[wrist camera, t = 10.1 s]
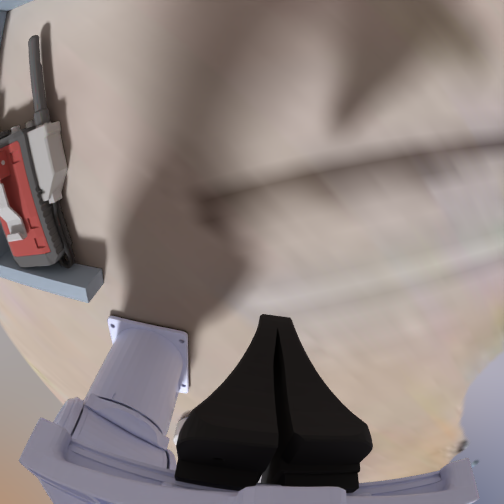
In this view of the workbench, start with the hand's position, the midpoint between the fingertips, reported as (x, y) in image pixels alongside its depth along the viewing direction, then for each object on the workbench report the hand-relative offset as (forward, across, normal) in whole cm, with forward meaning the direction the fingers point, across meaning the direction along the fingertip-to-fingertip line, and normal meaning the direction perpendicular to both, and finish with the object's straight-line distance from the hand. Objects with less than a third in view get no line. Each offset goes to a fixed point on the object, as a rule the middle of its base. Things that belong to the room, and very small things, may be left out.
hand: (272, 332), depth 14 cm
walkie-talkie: (+10, +21, -4) cm, 24 cm away
